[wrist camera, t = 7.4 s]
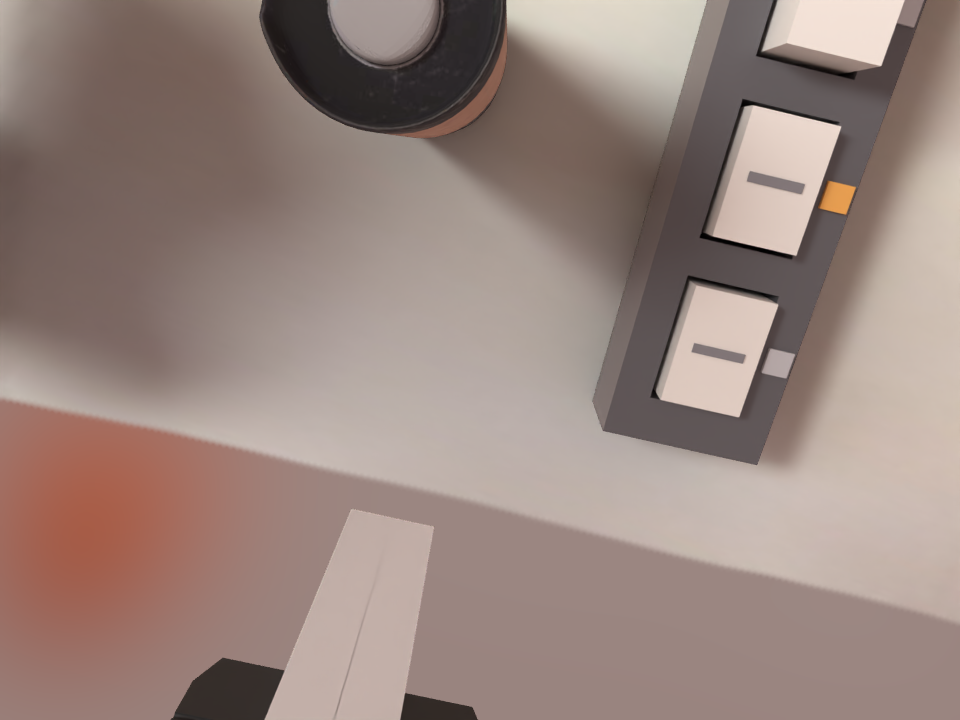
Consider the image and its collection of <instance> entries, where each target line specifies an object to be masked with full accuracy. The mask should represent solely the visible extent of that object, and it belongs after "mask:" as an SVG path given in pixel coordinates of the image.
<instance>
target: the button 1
mask: <svg viewBox="0 0 960 720" xmlns="http://www.w3.org/2000/svg"><path fill="white" fill-rule="evenodd" d="M777 308H778V304H777V303H775V302H773V301H772V300H770V299H768V298H767V297H765V296H763V295H761V294H760V293H758V292H756V291H754V290H749V289H745V288H741V287H736V286H732V285H728V284H723V283H719V282H715V281H710V280H706V279H702V278H697V277H693V276H689V275H688V277H687V280H686V283H685V286H684V289H683V293H682V296H681V299H680V302H679V306H678V309H677V312H676V315H675V318H674V322H673V325H672V328H671V331H670V335H669V338H668V341H667V344H666V348H665V351H664V354H663V357H662V360H661V364H660V367H659V370H658V373H657V377H656V380H655V383H654V386H653V388H654V390H655V392H656V393H657V395H658V397H659V398H660V400H664V401H668V402H672V403H677V404H681V405H686V406H690V407H695V408H699V409H704V410H708V411H712V412H717V413H721V414H726V415H730V416H735V417H739V416H740V413H741V411H742V408H743V405H744V402H745V399H746V396H747V393H748V390H749V388H750V385H751V382H752V379H753V376H754V373H755V370H756V368H757V365H758V362H759V359H760V356H761V353H762V350H763V348H764V345H765V342H766V339H767V336H768V333H769V330H770V328H771V325H772V322H773V319H774V316H775V313H776V310H777Z"/></svg>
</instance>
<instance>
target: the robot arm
mask: <svg viewBox="0 0 960 720" xmlns="http://www.w3.org/2000/svg"><path fill="white" fill-rule="evenodd" d="M433 530H434V526H429V525H424V524H420V523H415V522H410V521H406V520H401V519H397V518H392V517H388V516H383V515H378V514H374V513H369V512H364V511H360V510H355V509H351V511H350V513H349V516H348V518H347V521H346V523H345V525H344V528H343V530H342V533H341V535H340V537H339V540H338V542H337V545H336V547H335V550H334V552H333V555H332V557H331V559H330V562H329V564H328V567H327V569H326V572H325V574H324V576H323V579H322V581H321V584H320V586H319V589H318V591H317V593H316V596H315V599H314V601H313V603H312V606H311V608H310V610H309V613H308V615H307V618H306V620H305V623H304V625H303V628H302V630H301V632H300V635H299V637H298V640H297V642H296V645H295V647H294V649H293V652H292V654H291V657H290V659H289V662H288V664H287V666H286V669H285V671H284V670H279V669H274V668H270V667H264V666H260V665H255V664H250V663H245V662H241V661H236V660H231V659H226V658H222V659H221V660H219V661H218V662H217V663H215V664H214V665H213V666H212V667H210V668H209V669H208V670H206V671H205V672H204V673H203V674H201V675H200V676H199V677H197V678H196V679H195V680H193V682H192V683H191V685H190V687H189V689H188V690H187V692H186V694H185V696H184V698H183V699H182V701H181V703H180V704H179V706H178V708H177V710H176V712H175V715H174V717H173V718H172V719H171V720H478V719H477V717H476V715H475V712H474V710H473V708H472V707H469V706H465V705H459V704H455V703H450V702H445V701H440V700H436V699H430V698H426V697H421V696H416V695H412V694H407V693H405V690H406V684H407V678H408V673H409V667H410V661H411V655H412V650H413V644H414V639H415V633H416V627H417V621H418V616H419V610H420V604H421V599H422V593H423V588H424V582H425V576H426V571H427V565H428V559H429V553H430V548H431V542H432V536H433Z"/></svg>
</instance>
